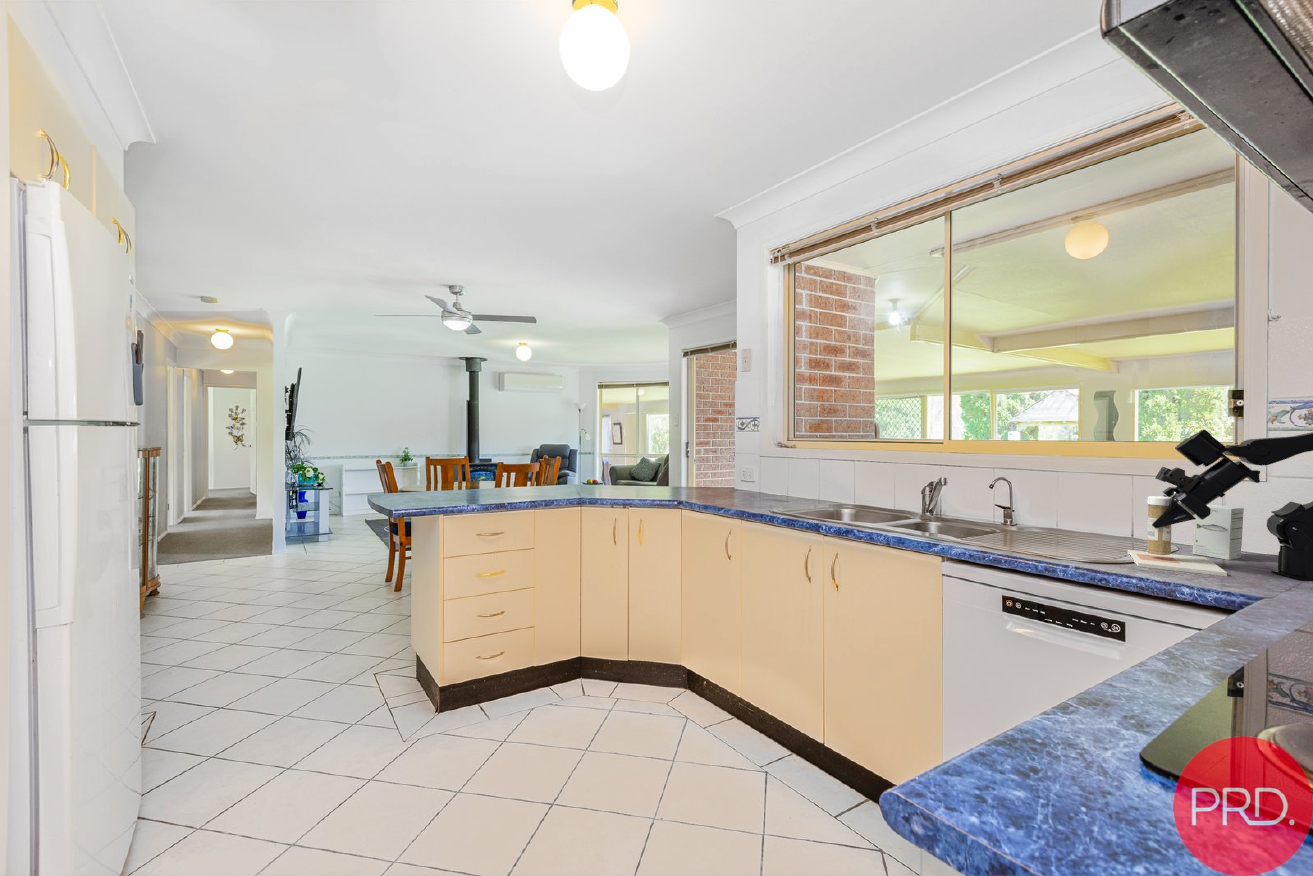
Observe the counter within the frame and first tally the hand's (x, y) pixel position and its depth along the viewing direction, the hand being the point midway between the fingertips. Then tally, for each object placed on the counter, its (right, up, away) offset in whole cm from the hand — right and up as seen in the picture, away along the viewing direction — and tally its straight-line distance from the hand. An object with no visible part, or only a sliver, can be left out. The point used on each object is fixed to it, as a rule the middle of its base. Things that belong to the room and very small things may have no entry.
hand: (1151, 525), depth 142 cm
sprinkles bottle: (+1, -7, -1) cm, 7 cm away
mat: (+3, -9, -2) cm, 10 cm away
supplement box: (+23, -9, +8) cm, 26 cm away
